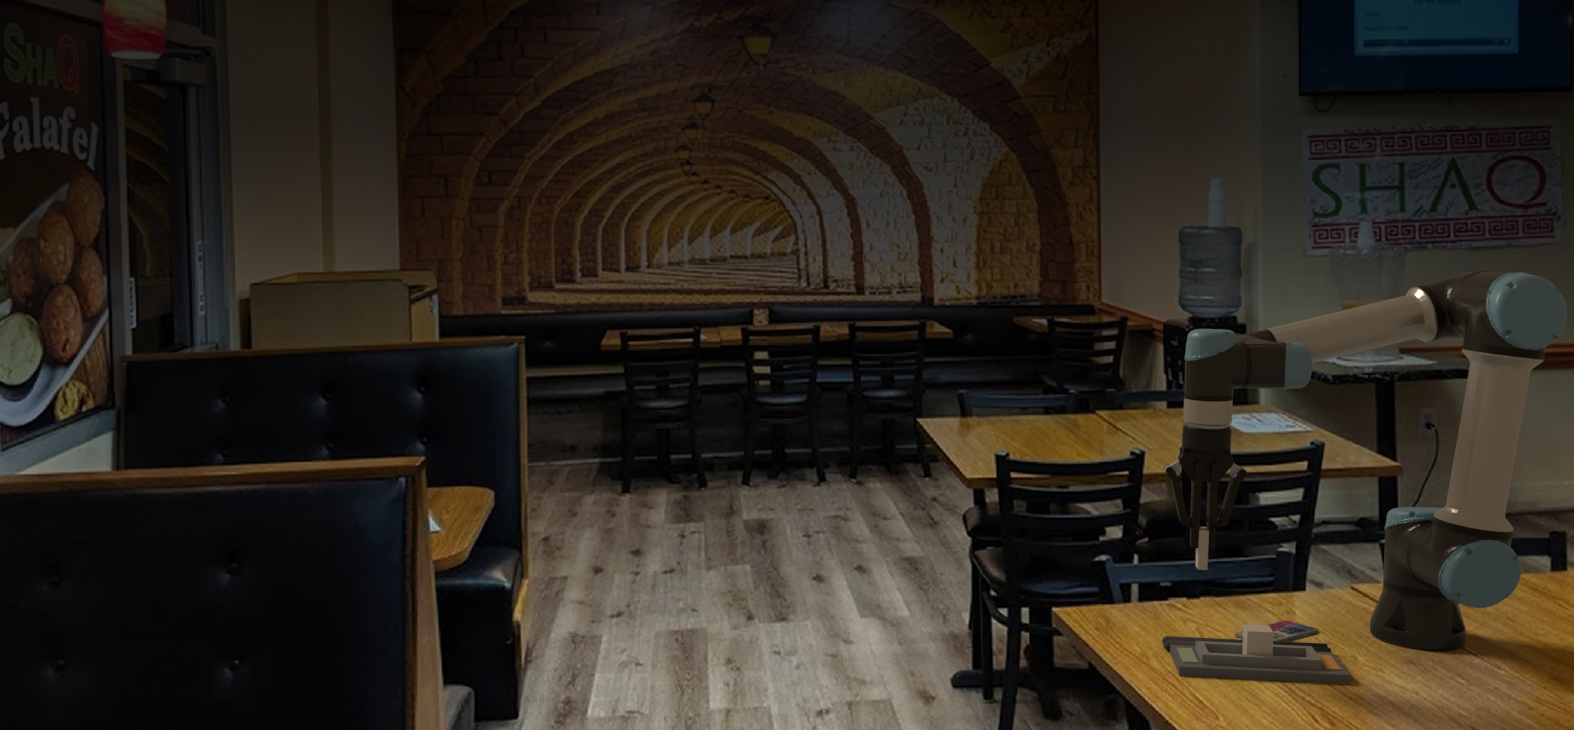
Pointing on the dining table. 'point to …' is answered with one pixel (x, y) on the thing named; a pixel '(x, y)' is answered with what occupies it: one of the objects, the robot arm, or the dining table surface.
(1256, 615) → the dining table surface
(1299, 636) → the smartphone
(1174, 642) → the cord
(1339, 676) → the panel
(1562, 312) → the robot arm
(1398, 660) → the dining table surface
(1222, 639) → the dark grey rod
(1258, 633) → the block
